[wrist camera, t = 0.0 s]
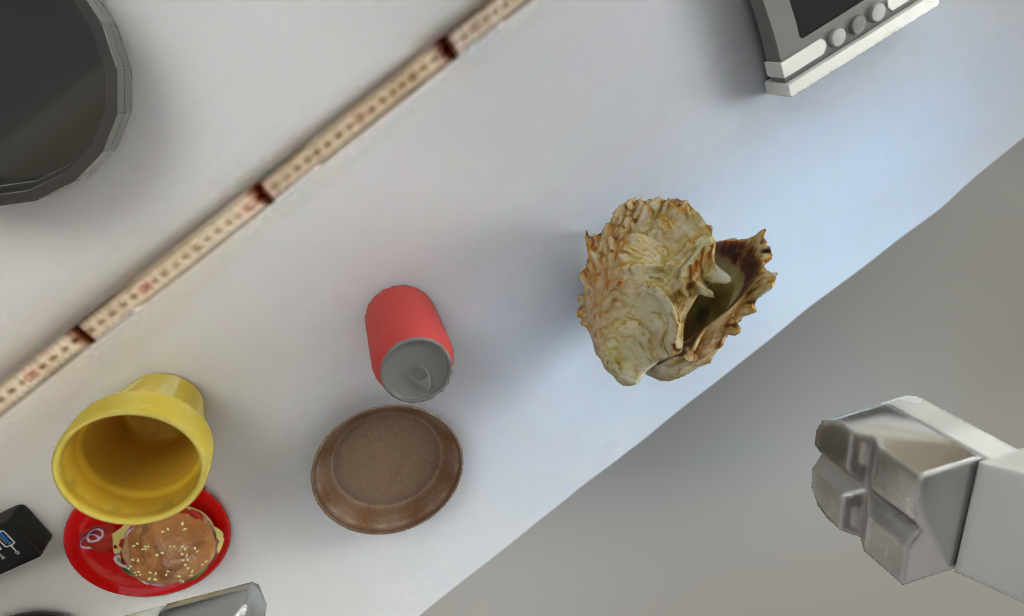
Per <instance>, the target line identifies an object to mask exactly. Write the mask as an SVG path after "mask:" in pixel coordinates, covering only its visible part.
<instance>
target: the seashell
mask: <svg viewBox="0 0 1024 616" xmlns="http://www.w3.org/2000/svg"><path fill="white" fill-rule="evenodd" d="M765 232H766V229H763V230H761V231H760V232H758V233H757V234H756V235H755V236H753V237H751V238H748V239H740V240H738V239H735V238H731V239H727V240H723V241H717V242H715V240H714V238H713V236H712V226H710V225H707V224H706V223H705V222H704V220H703V218H702V217H701V216H700V214H699V213H698V212H697V211H695V210H694V209H693V208H692V207H691V206H690V204H689V203H688V201H687V200H684V201H681V200H679V199H677V198H676V199H672V200H670V199H669V198H668V199H667V200H664V199H662V198H660V197H657V198H655V199H653V200H652V199H648V200H647V201H643V200H642V199H641V197H640V199H638V200H636V197H635V198H634V199H631V200H630V199H629V200H628V201H627V202H626V203H624V204H622V205H620V206H619V207H618V208H617V209H616V210H615V211H614V212H613V217H612V218H611V221H610V223H606V225H605V227H604V229H603V230H602V232H601V233H600V234H598V235H596V234H594V237H589V236H588V233H587V230H586V237H585V239H586V246H587V252H588V259H587V262H588V263H587V264H586V268H585V269H584V270H583V271H582V272H581V273H580V275H579V278H580V282H581V283H582V285H583V286H584V288H585V291H584V294H583V295H579V296H577V300H578V303H579V304H580V306H581V307H580V308H579V309H578V310H577V317H579V318H581V319H582V321H581V323H580V325H581V326H584V327H587V329H588V331H589V333H590V335H591V338H592V341H593V345H594V349H595V353H596V355H597V356H598V357H599V358H600V359H601V361H602V363H603V366H604V368H605V369H606V370H607V371H608V372H609V373H610V374H612V375H613V376H614V378H615V379H616V380H617V381H618V383H620V384H622V385H623V386H632V385H635V384H637V383H639V381H640V380H641V378H642V377H643V376H644V374H647V375H649V376H651V377H653V378H655V379H657V380H660V381H671V380H674V379H677V378H680V377H683V376H685V375H687V374H689V373H690V372H692V371H693V370H695V369H696V368H697V367H700V366H703V365H706V364H709V363H711V360H712V357H713V355H714V354H715V353H716V352H717V350H718V349H720V348H722V346H723V345H724V341H725V339H726V338H727V336H728V335H733V336H735V335H737V334H739V333H740V330H741V328H740V327H739V325H738V324H737V323H739V322H741V319H742V317H743V316H746V315H750V314H752V313H755V312H756V308H755V302H756V300H757V299H758V298H759V297H761V296H762V295H763V294H765V293H766V292H767V291H769V290H770V289H771V288H772V287H773V286H774V284H775V279H776V276H777V274H778V273H771V272H769V271H767V270H766V269H765V267H764V265H765V264H766V263H767V262H769V261H770V260H771V259H772V256H773V255H772V253H771V249H770V246H768V245H767V242H766V240H765V238H764V235H765Z"/></svg>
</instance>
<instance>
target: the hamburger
mask: <svg viewBox="0 0 1024 616" xmlns="http://www.w3.org/2000/svg"><path fill="white" fill-rule="evenodd" d="M230 535H231V531H230V524H229V520H228V517H227V515H226V513H225V511H224V509H223V507H222V506H221V505H220V503H219V502H218V501H217V500H216V499H215V498H214V497H213V496H212V495H211V494H209V493H208V492H207V491H205V490H204V489H202V491H201V492H200V494H199V495H198V496H197V498H196V499H195V500H194V501H193V502H192V503H191V504H190V505H189V506H187V507H186V508H185V509H183V510H182V511H180V512H179V513H177V514H175V515H173V516H171V517H169V518H166V519H164V520H161V521H157V522H153V523H148V524H141V525H122V524H113V523H108V522H104V521H101V520H98V519H95V518H92V517H90V516H88V515H86V514H84V513H82V512H80V511H79V510H77V509H76V508H75V509H74V510H73V512H72V513H71V515H70V517H69V518H68V521H67V523H66V526H65V530H64V548H65V552H66V555H67V557H68V559H69V561H70V563H71V564H72V566H73V567H74V568H75V570H76V571H77V572H78V573H79V574H80V575H81V576H82V577H83V578H85V579H86V580H87V581H89V582H90V583H92V584H94V585H96V586H98V587H100V588H102V589H104V590H107V591H110V592H113V593H117V594H121V595H127V596H136V597H150V596H160V595H165V594H170V593H174V592H177V591H180V590H183V589H185V588H188V587H190V586H192V585H194V584H196V583H198V582H199V581H201V580H202V579H204V578H205V577H207V576H208V575H209V574H210V573H211V572H212V571H213V570H214V569H215V568H216V567H217V566H218V565H219V564H220V562H221V561H222V559H223V558H224V556H225V554H226V552H227V549H228V547H229V543H230Z"/></svg>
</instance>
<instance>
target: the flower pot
mask: <svg viewBox="0 0 1024 616" xmlns="http://www.w3.org/2000/svg"><path fill="white" fill-rule="evenodd" d="M213 452H214V442H213V436H212V433H211V430H210V428H209V426H208V424H207V422H206V418H205V405H204V400H203V397H202V395H201V393H200V392H199V390H198V389H197V388H196V387H195V386H194V385H193V384H192V383H191V382H189V381H188V380H186V379H184V378H182V377H179V376H176V375H172V374H166V373H158V374H151V375H147V376H144V377H141V378H139V379H137V380H136V381H134V382H133V383H131V384H130V385H129V386H127V387H126V388H125V389H123V390H122V391H120V392H119V393H116V394H113V395H110V396H107V397H104V398H102V399H100V400H98V401H96V402H94V403H92V404H91V405H89V406H88V407H87V408H86V409H84V410H83V411H82V412H81V413H80V414H79V415H78V416H77V418H76V419H75V420H74V421H73V422H72V423H71V425H70V426H69V427H68V428H67V430H66V431H65V432H64V434H63V435H62V437H61V438H60V440H59V441H58V443H57V445H56V447H55V450H54V453H53V457H52V475H53V479H54V482H55V484H56V486H57V488H58V490H59V492H60V493H61V495H62V496H63V497H64V498H65V499H66V501H67V502H68V503H70V504H71V505H72V506H73V507H75V508H76V509H77V510H79V511H80V512H82V513H84V514H86V515H88V516H90V517H92V518H95V519H98V520H101V521H104V522H108V523H113V524H122V525H141V524H148V523H153V522H157V521H161V520H164V519H166V518H169V517H171V516H173V515H175V514H177V513H179V512H180V511H182V510H183V509H185V508H186V507H187V506H189V505H190V504H191V503H192V502H193V501H194V500H195V499H196V498H197V496H198V495H199V494H200V492H201V491H202V489H203V487H204V485H205V482H206V480H207V477H208V474H209V470H210V467H211V463H212V458H213Z"/></svg>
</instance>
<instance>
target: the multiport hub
mask: <svg viewBox="0 0 1024 616" xmlns="http://www.w3.org/2000/svg"><path fill="white" fill-rule="evenodd" d="M51 538H52V535H51V533H50V532H49V531H48V530H47V529H46V528H45V527H44V526H43V524H42V523H41V522H40V521H39V520H38V519H37V518H36V517H35V516H34V515H33V513H32V512H31V511H30V510H29V509H28V508H27V507H26V506H25V505H17V506H15V507H13V508H10V509H8V510H6V511H4V512H1V513H0V574H2V573H4V572H6V571H8V570H11V569H13V568H15V567H17V566H20V565H22V564H24V563H26V562H29V561H31V560H33V559H35V558H38V557H40V556H41V555H42V553H43V551H44V550H45V548H46V546H47V545H48V543H49V541H50V540H51Z"/></svg>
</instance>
